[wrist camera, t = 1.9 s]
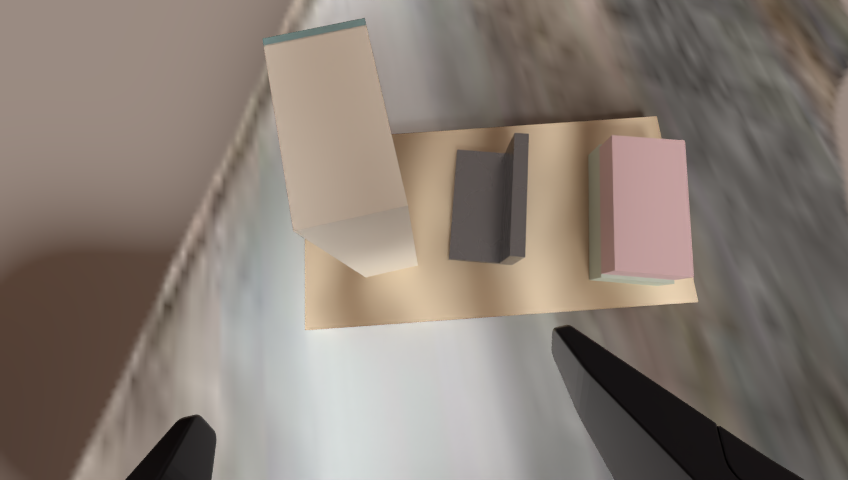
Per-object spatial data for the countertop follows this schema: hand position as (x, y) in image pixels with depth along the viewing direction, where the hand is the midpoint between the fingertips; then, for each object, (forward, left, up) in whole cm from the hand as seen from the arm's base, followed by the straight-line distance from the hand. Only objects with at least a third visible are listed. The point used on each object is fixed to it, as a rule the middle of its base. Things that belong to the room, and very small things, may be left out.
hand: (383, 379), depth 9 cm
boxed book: (+5, -5, -12) cm, 14 cm away
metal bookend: (+1, -9, -12) cm, 15 cm away
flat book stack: (-6, -14, -12) cm, 19 cm away
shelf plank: (0, -9, -13) cm, 16 cm away
